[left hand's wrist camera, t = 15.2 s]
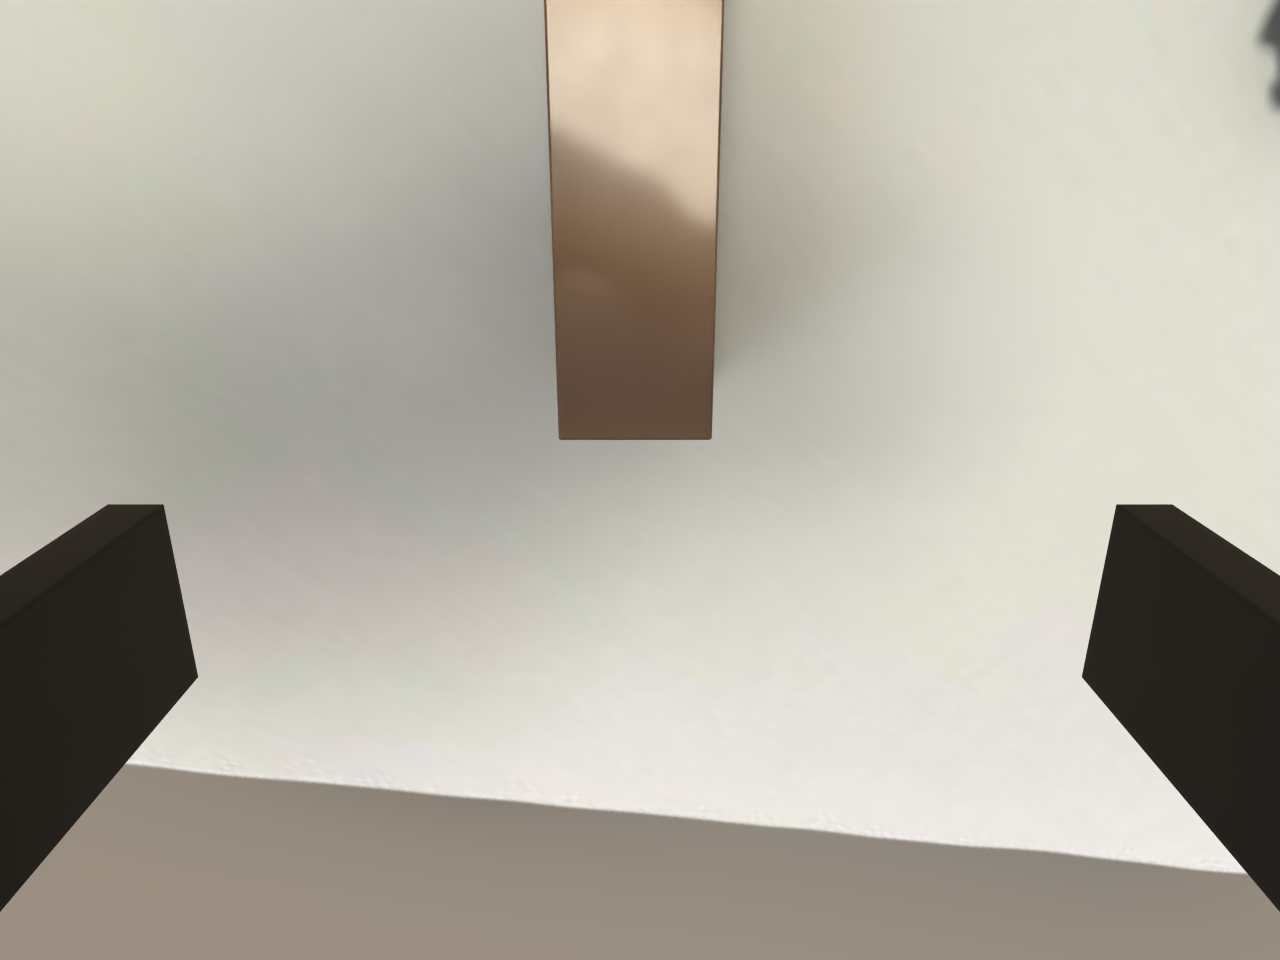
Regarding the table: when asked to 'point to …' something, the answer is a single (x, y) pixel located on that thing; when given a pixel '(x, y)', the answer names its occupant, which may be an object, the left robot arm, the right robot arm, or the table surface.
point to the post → (634, 213)
